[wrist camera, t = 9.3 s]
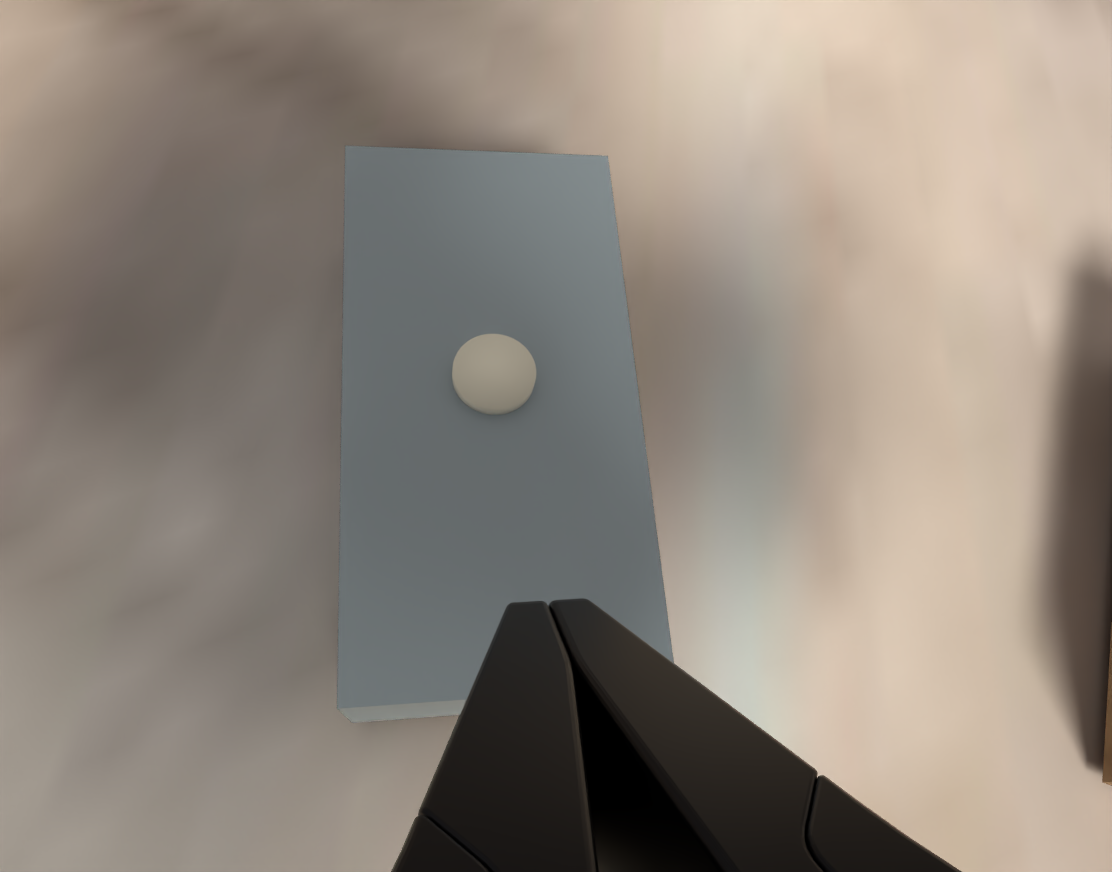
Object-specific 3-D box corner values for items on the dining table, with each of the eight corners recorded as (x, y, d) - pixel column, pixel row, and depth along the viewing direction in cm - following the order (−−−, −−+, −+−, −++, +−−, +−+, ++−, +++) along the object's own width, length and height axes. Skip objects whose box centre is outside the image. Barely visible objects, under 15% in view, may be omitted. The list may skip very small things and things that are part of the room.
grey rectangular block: (680, 682, 12) (610, 147, 16) (335, 707, 12) (343, 135, 15) (627, 703, 16) (578, 252, 19) (353, 723, 15) (356, 247, 19)
